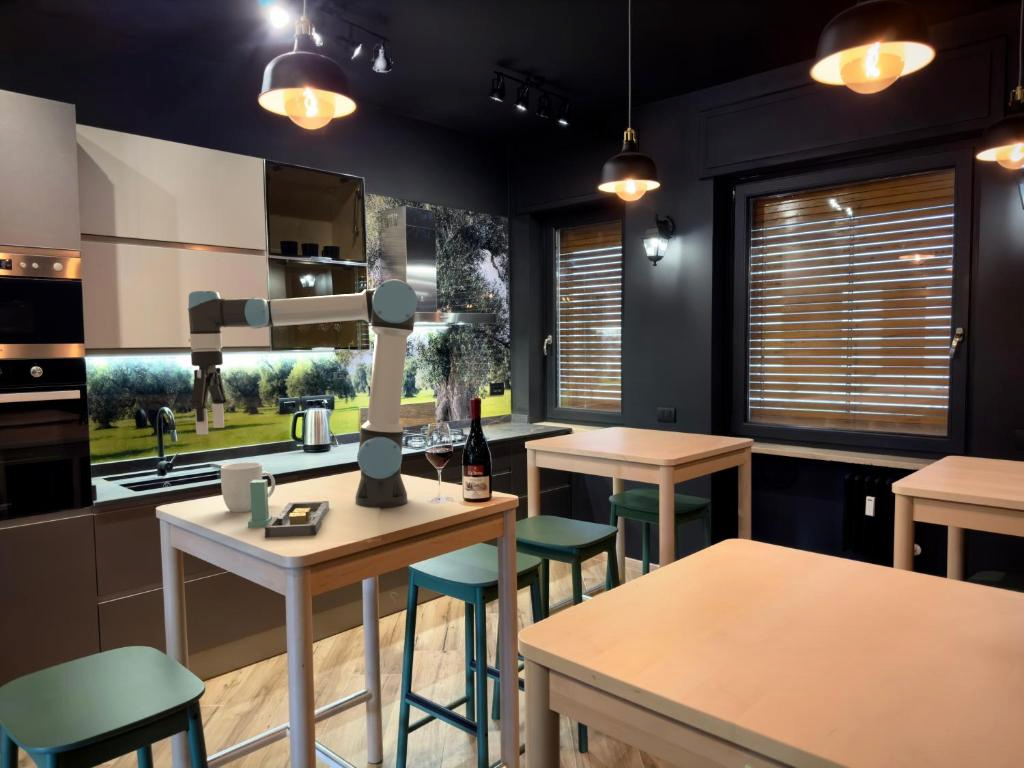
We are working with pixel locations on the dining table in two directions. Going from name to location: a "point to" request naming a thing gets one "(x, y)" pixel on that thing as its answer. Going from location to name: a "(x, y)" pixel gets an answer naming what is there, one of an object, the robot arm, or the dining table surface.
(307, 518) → the chip
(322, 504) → the dark gray shallow tray
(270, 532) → the tray
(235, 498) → the mug
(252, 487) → the teal t-shaped block
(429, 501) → the dining table surface
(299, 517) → the chip
